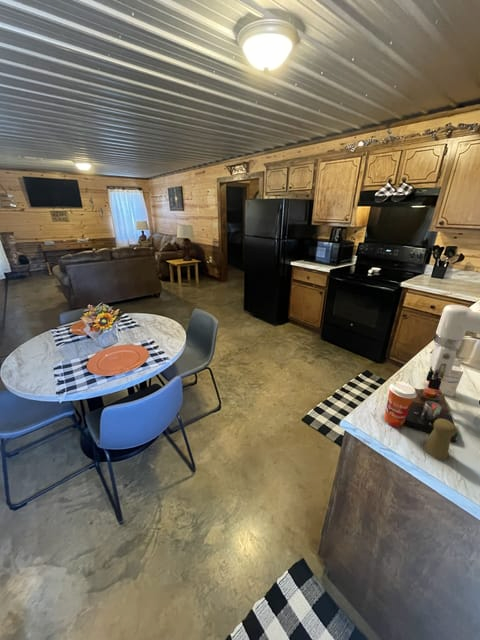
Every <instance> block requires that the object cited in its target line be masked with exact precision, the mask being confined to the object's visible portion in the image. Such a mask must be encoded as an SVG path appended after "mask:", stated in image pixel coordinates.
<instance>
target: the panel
mask: <svg viewBox="0 0 480 640" xmlns="http://www.w3.org/2000/svg"><path fill="white" fill-rule="evenodd" d="M423 408H424V407H421V406H417V405H413V404H411V406H410V409H409V411H408V413H407V416H406V418H405V420H404V423H403V427H405V428H409V429H411V430H414V431H418V432H421V433H424V434H427V435H430V434H431V433H432V431H433V430H434V426H433V424H434V422H431V421H428V420H426V419H425V418H423V417H422V415H421V414H422V411H423ZM453 418H454V417H453V416H452V414H449V413H448V414H445V413H442V412H440V414H439V416H438V419H446V420H448V421H450V422H452V423H453V424H454V425H455V422H454V419H453ZM458 436H459V434H458V431H457V430H456V433H455V434H454V435H453V436H451V440H450V442H452V443H456V440H457V438H458Z"/></svg>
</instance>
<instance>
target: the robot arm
mask: <svg viewBox="0 0 480 640" xmlns="http://www.w3.org/2000/svg"><path fill="white" fill-rule="evenodd" d="M467 332H471V333H474V334H477V335H480V300H478V301H476V302H475V303H473V304H471V305H470V306H469V307H467V306H465V305H460V304H447V305H446V306H444V307H443V310H442V312H441V316H440V318H439V322H438V325H437V328H436V331H435V334H434V337H433V341H432V343H433V344H434V346H433V348H432V352H431V354H430V359H429V363H430V367H429V370H428V372H427V375H426V379H425V380H426V381H427V382H428V381H429V384H428V387H427V389H428V388H431V389H435V390H439V387H440V384H441V382H442V379H443V377H444V372H445V373H446V375H447V376H449V375H450V373H451V370H452V367H453V364H454V360H455V358H457V357H456V356H457V352H458V351H457V350H460V348H461V346H462V343H463V341H464V338H465V335H466V333H467Z"/></svg>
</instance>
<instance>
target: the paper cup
mask: <svg viewBox="0 0 480 640" xmlns="http://www.w3.org/2000/svg"><path fill="white" fill-rule="evenodd" d="M414 388H415V387H414V386H412V385H411V384H409V383H407V382H405V381H404V382H403V381H394V382H393V383H392V384H389V392H388V396H387V402H386V406H385V413H384V421H385V422H386V423H387V424H388V425H389V426H392V427H395V428H400V427H402V426H404V420H405V418H406V416H407V413H408V411H409V409H410V406H411V404H412V402H413V399H414V398H416V396H417V394H416V392H415V389H414Z"/></svg>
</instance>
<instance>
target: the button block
mask: <svg viewBox="0 0 480 640" xmlns="http://www.w3.org/2000/svg"><path fill="white" fill-rule="evenodd" d="M413 388H414V389H415V392H416V394H417V396H416V398H414V399H413V402H412V404H413V405H417V406H421V407H424V405H425V402H426V401H433V402H435V403H437V404H439V405H440V406H441V411H440V412H442V413H445V414H449V413H450V410H449V406H448V403H447V401H446V397H445V395H444V394H440V393H437V392H435V396H434V398H430V397H427V396H425V395H423V391H424V389H425V388H416V387H413Z"/></svg>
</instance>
